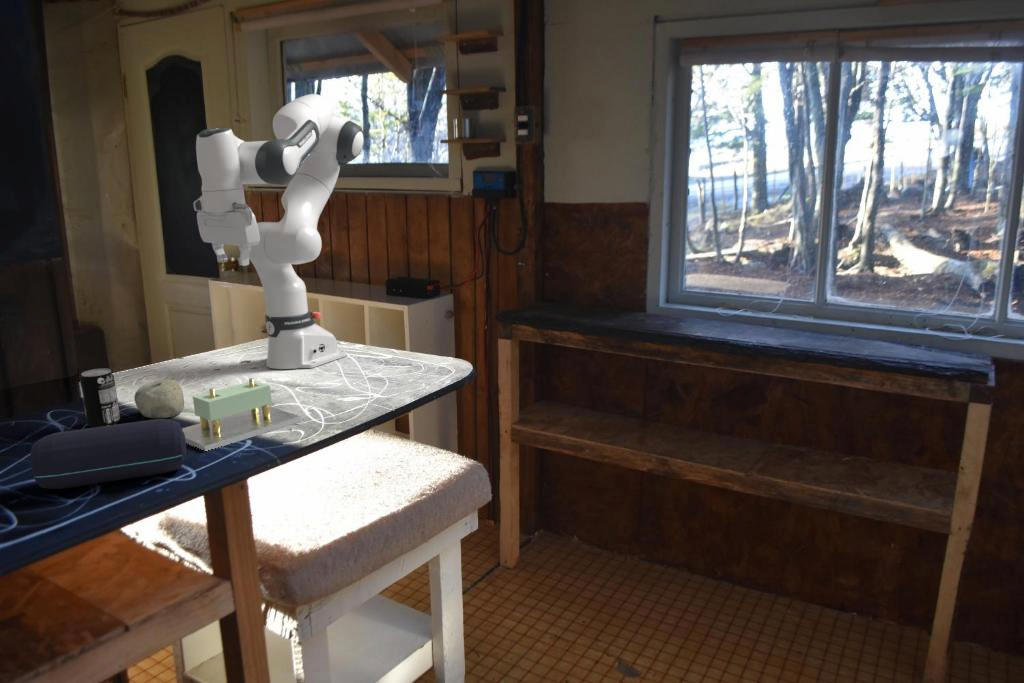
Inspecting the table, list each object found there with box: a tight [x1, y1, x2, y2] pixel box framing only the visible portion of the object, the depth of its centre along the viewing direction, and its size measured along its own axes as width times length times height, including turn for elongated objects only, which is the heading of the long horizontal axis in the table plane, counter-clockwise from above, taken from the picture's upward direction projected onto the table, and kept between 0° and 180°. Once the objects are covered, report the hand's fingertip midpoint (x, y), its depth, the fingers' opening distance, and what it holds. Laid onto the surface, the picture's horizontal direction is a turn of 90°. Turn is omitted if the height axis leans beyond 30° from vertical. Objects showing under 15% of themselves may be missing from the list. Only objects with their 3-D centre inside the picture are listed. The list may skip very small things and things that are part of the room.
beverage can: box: [79, 368, 121, 428], centre depth 174 cm, size 7×7×12 cm
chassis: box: [181, 378, 302, 452], centre depth 168 cm, size 22×14×10 cm, turn 139°
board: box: [192, 380, 273, 421], centre depth 167 cm, size 14×6×4 cm, turn 139°
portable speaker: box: [29, 418, 187, 490], centre depth 143 cm, size 25×10×10 cm, turn 110°
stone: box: [134, 379, 185, 419], centre depth 180 cm, size 10×10×10 cm
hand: (233, 263), depth 182 cm, fingers open, 8 cm apart
